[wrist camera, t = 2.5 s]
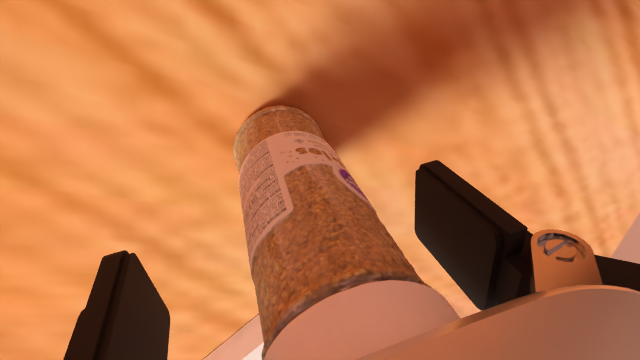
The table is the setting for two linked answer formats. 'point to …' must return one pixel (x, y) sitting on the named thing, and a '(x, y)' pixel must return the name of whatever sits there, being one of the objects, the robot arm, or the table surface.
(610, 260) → the robot arm
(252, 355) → the tray
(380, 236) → the sprinkles bottle
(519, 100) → the table surface
